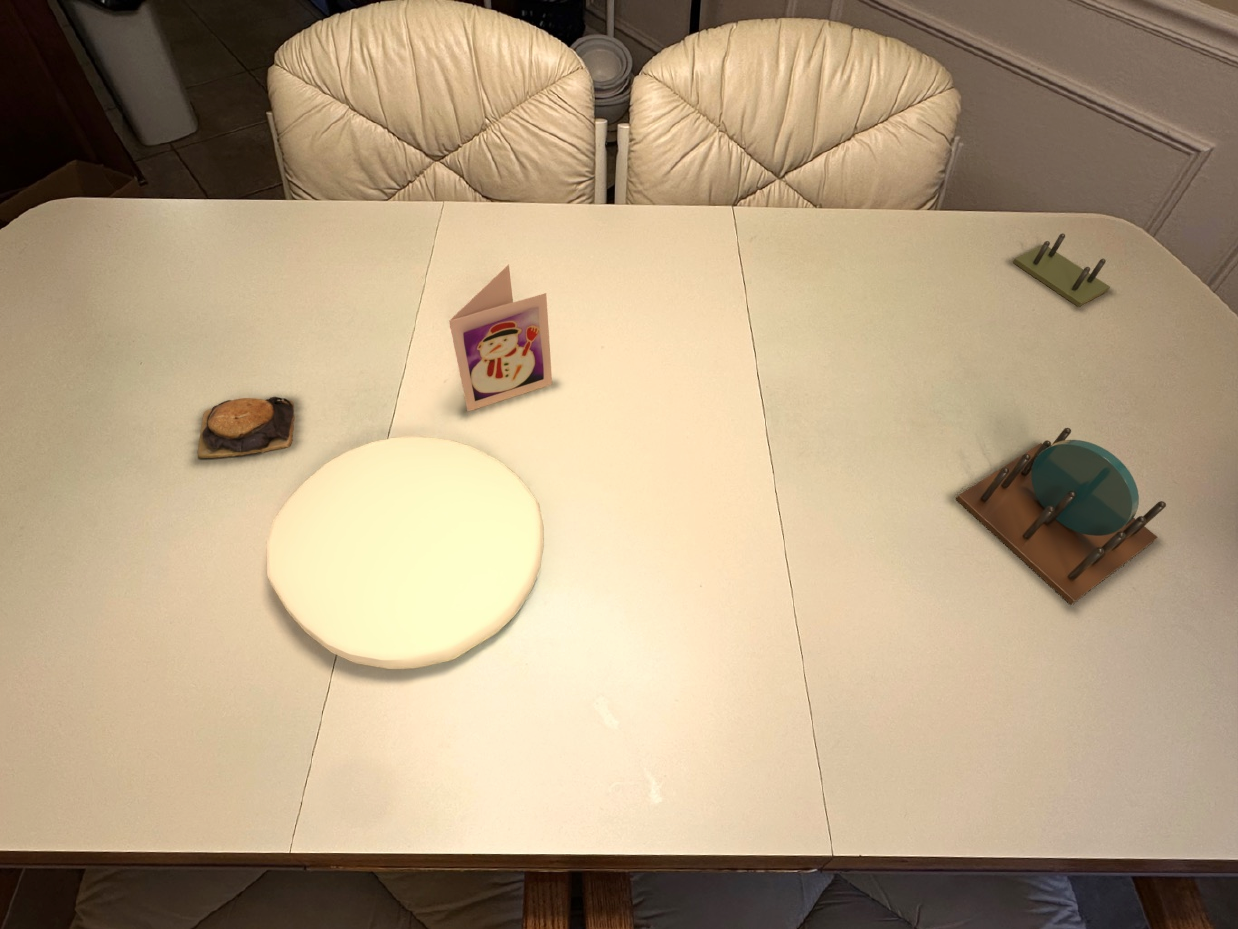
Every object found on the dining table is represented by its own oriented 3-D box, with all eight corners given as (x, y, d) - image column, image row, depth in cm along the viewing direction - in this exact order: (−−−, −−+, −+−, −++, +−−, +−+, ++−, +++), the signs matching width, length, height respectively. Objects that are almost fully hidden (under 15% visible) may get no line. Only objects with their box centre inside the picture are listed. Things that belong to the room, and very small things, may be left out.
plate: (580, 473, 82) (476, 699, 66) (576, 504, 87) (478, 720, 72) (350, 390, 84) (198, 590, 69) (359, 425, 89) (220, 618, 74)
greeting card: (469, 416, 93) (451, 325, 81) (451, 376, 96) (431, 285, 85) (554, 388, 96) (549, 297, 84) (533, 351, 100) (525, 259, 88)
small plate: (1021, 479, 88) (1069, 419, 79) (1100, 548, 82) (1162, 492, 74) (1014, 484, 87) (1062, 424, 79) (1093, 553, 82) (1155, 498, 73)
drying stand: (1041, 248, 117) (1056, 221, 113) (1107, 291, 111) (1126, 264, 107) (1012, 262, 114) (1026, 236, 111) (1078, 307, 108) (1096, 280, 105)
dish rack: (1038, 446, 92) (1065, 410, 87) (1153, 540, 84) (1192, 507, 79) (955, 499, 87) (979, 464, 82) (1070, 604, 79) (1105, 573, 74)
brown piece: (197, 463, 87) (183, 444, 84) (207, 410, 92) (194, 390, 89) (292, 451, 89) (281, 431, 86) (296, 399, 93) (286, 378, 90)
